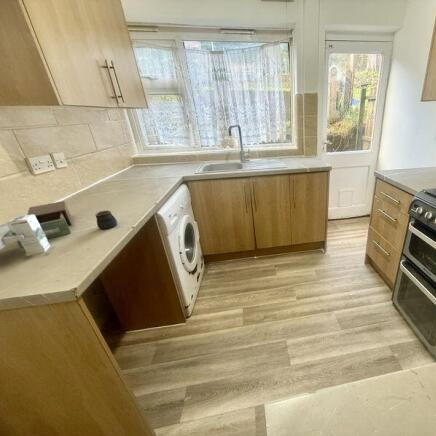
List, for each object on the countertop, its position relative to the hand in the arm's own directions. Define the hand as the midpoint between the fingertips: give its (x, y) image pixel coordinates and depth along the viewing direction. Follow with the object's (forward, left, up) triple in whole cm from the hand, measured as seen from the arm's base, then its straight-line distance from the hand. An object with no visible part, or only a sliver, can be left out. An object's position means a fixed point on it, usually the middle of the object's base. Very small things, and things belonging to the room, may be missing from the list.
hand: (29, 231), depth 89 cm
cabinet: (+4, +30, -9) cm, 31 cm away
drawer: (+4, +16, -8) cm, 18 cm away
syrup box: (0, 0, -9) cm, 9 cm away
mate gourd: (+23, +6, -9) cm, 25 cm away
